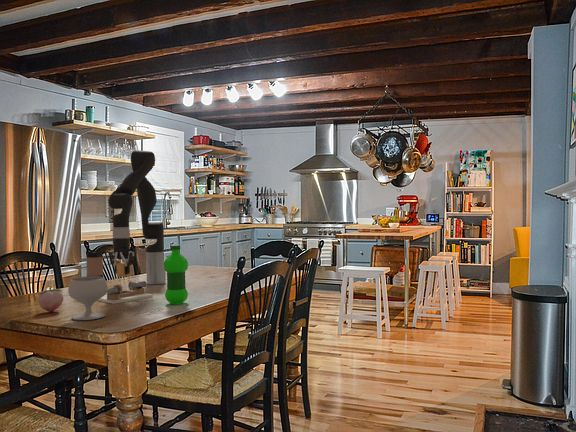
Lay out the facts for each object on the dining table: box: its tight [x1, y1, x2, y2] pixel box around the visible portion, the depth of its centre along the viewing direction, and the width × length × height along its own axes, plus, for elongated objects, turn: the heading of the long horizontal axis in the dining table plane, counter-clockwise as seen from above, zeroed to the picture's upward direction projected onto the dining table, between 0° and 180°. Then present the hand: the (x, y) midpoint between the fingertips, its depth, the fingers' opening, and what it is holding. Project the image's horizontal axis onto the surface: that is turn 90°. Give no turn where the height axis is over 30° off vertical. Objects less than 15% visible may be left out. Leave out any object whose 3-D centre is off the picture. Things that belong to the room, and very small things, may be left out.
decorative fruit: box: [38, 287, 64, 313], centre depth 210 cm, size 9×8×10 cm
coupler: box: [116, 262, 129, 278], centre depth 239 cm, size 5×5×6 cm
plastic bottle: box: [164, 244, 189, 306], centre depth 224 cm, size 10×10×25 cm
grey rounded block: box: [106, 284, 123, 300], centre depth 231 cm, size 8×5×6 cm, turn 174°
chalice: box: [67, 276, 109, 321], centre depth 198 cm, size 14×14×15 cm
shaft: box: [127, 280, 148, 294], centre depth 245 cm, size 8×5×6 cm, turn 139°
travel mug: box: [85, 250, 104, 277], centre depth 257 cm, size 8×8×20 cm
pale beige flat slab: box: [97, 290, 154, 304], centre depth 239 cm, size 20×18×3 cm
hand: (122, 273), depth 239 cm, fingers closed on coupler, 5 cm apart
